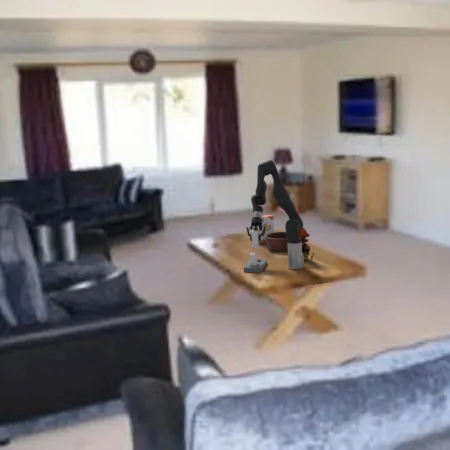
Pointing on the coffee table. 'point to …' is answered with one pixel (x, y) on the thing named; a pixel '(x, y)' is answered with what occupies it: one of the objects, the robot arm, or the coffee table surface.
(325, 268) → the coffee table surface
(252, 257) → the block
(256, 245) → the block
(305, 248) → the red flower plant
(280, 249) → the wooden bowl
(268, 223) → the cracker box
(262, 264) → the grey square hole board
